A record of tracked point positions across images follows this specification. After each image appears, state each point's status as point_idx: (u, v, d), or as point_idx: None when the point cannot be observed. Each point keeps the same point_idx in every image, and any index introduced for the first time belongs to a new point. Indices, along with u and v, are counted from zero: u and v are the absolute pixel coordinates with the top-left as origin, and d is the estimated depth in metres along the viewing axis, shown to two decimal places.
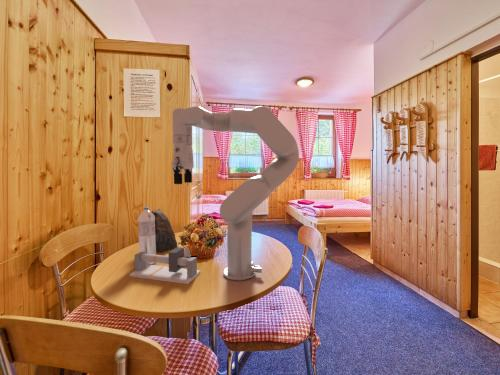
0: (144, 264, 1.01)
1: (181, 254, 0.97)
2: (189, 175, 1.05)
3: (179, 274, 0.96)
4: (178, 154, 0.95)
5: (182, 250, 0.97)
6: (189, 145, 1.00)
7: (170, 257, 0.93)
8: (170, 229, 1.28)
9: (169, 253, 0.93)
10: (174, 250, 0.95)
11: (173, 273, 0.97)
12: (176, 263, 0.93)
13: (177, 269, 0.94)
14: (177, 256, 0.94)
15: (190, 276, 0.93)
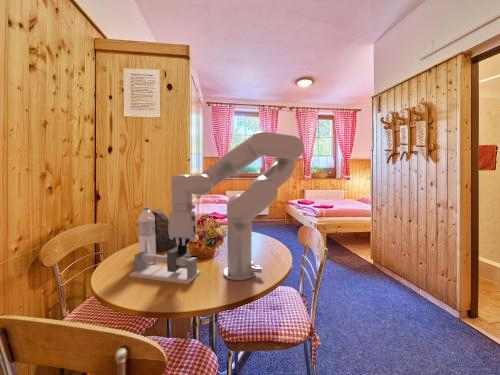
0: (144, 264, 1.01)
1: None
2: None
3: (179, 274, 0.96)
4: (194, 223, 0.93)
5: None
6: None
7: (169, 257, 0.93)
8: None
9: (168, 253, 0.93)
10: (173, 250, 0.95)
11: (173, 273, 0.97)
12: (174, 263, 0.94)
13: (175, 268, 0.94)
14: (176, 256, 0.94)
15: (190, 276, 0.93)
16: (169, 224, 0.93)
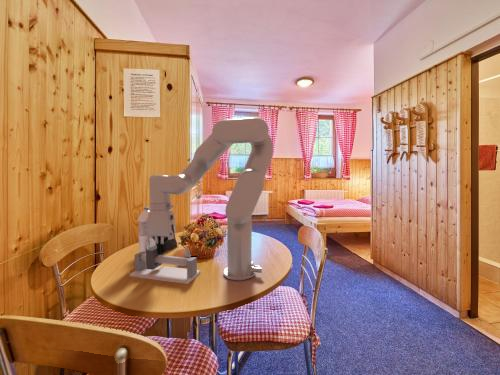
0: (144, 264, 1.01)
1: None
2: None
3: (179, 274, 0.96)
4: (172, 221, 0.96)
5: None
6: None
7: (147, 255, 0.96)
8: None
9: (146, 251, 0.96)
10: (152, 248, 0.98)
11: (173, 273, 0.97)
12: (153, 260, 0.96)
13: (154, 266, 0.96)
14: (154, 254, 0.96)
15: (190, 276, 0.93)
16: (148, 223, 0.96)
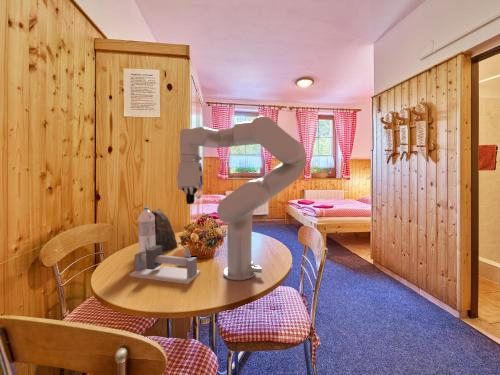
0: (144, 264, 1.01)
1: (159, 252, 0.99)
2: None
3: (179, 274, 0.96)
4: (201, 173, 1.02)
5: (160, 248, 1.00)
6: None
7: (147, 255, 0.96)
8: (170, 229, 1.28)
9: (146, 251, 0.96)
10: (152, 248, 0.98)
11: (173, 273, 0.97)
12: (153, 260, 0.96)
13: (154, 266, 0.96)
14: (154, 254, 0.96)
15: (190, 276, 0.93)
16: (178, 175, 1.02)
